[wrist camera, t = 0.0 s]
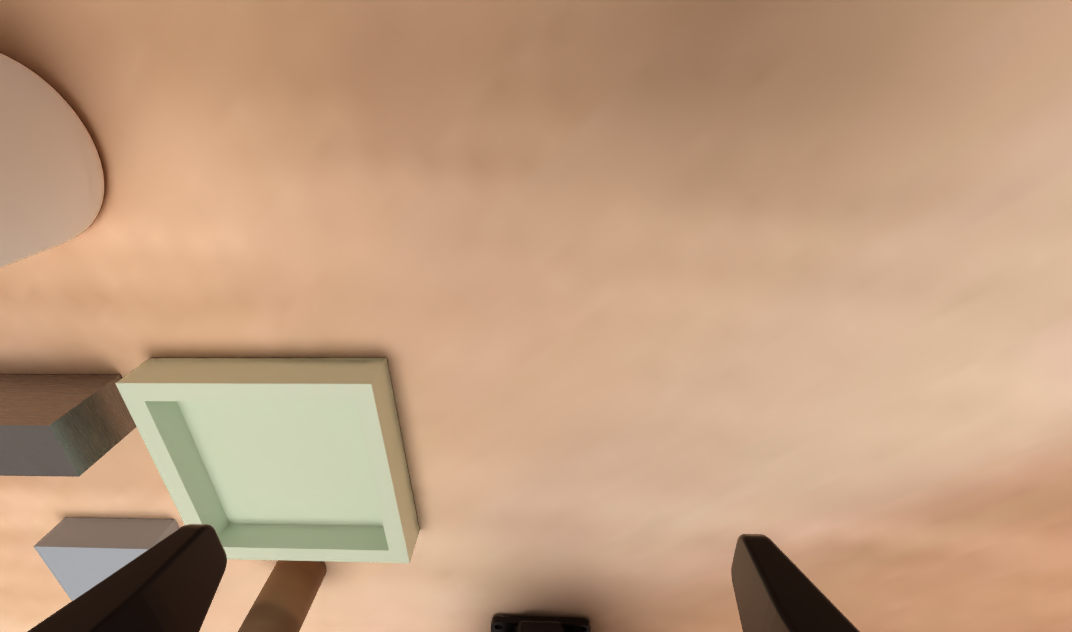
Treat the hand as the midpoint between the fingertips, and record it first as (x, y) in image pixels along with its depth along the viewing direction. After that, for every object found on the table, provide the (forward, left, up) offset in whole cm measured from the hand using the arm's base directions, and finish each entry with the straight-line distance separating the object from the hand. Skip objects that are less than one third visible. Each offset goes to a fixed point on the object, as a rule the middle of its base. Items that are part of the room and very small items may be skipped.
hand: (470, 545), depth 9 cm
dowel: (-21, +15, -15) cm, 30 cm away
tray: (-11, +13, -15) cm, 23 cm away
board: (-20, +25, -15) cm, 36 cm away
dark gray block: (-8, +25, -15) cm, 30 cm away
